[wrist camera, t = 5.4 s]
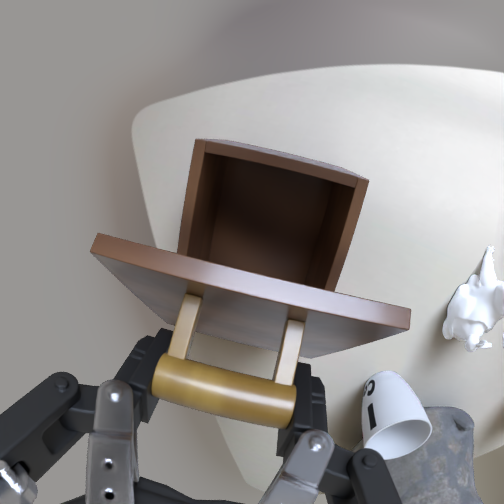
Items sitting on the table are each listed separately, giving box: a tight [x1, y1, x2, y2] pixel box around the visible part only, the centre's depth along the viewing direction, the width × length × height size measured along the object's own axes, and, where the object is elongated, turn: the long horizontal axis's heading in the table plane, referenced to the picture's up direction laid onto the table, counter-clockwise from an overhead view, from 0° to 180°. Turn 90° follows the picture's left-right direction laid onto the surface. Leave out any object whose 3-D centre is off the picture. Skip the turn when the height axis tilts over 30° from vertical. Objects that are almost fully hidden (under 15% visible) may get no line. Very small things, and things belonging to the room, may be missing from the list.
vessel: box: [352, 407, 483, 504], centre depth 30 cm, size 22×22×20 cm
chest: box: [177, 139, 369, 292], centre depth 26 cm, size 14×12×10 cm
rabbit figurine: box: [442, 245, 504, 352], centre depth 26 cm, size 12×8×10 cm, turn 146°
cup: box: [362, 371, 432, 460], centre depth 31 cm, size 8×8×10 cm
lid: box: [90, 233, 411, 429], centre depth 16 cm, size 14×12×5 cm
